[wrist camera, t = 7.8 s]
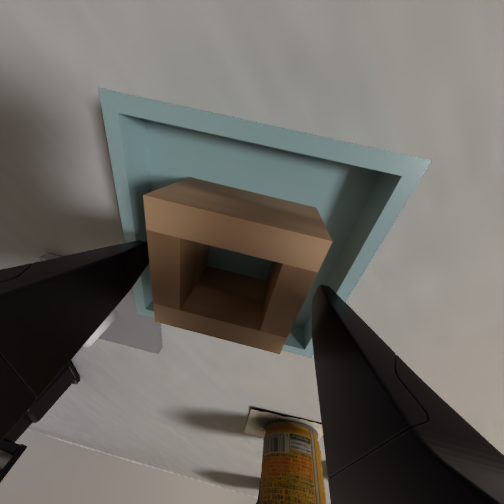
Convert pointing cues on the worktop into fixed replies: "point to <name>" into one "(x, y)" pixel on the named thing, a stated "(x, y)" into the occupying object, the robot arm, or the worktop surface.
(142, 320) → the gray plate with knob
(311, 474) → the condiment
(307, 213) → the ring
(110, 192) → the worktop surface
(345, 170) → the tray
